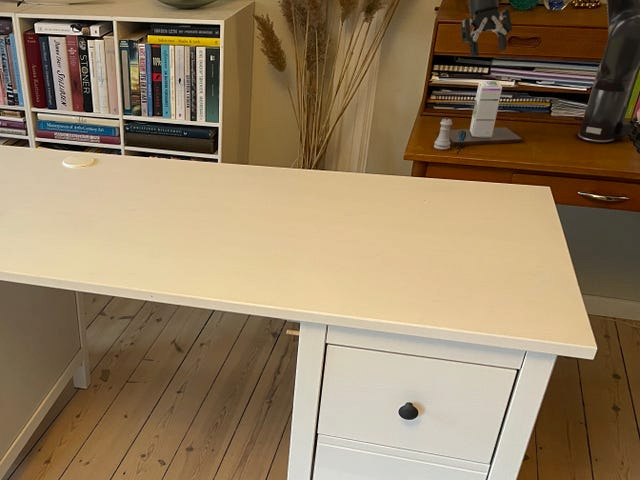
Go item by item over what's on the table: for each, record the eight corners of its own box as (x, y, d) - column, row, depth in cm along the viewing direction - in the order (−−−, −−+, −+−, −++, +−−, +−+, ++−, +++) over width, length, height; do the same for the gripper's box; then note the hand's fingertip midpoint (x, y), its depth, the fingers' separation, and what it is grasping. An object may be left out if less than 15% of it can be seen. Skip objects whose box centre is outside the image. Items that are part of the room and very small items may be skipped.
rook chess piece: (430, 147, 211) (435, 119, 207) (440, 144, 213) (445, 116, 209) (443, 151, 208) (448, 123, 204) (453, 148, 210) (458, 120, 206)
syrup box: (492, 137, 214) (504, 86, 205) (470, 137, 215) (481, 85, 206) (489, 131, 218) (500, 80, 210) (468, 130, 219) (478, 80, 211)
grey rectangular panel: (505, 130, 222) (505, 127, 221) (521, 142, 213) (522, 138, 212) (439, 133, 221) (440, 130, 221) (453, 145, 212) (454, 142, 212)
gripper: (467, -6, 204) (474, 55, 208) (513, -16, 206) (519, 45, 210) (452, 2, 212) (459, 60, 215) (496, -8, 213) (503, 50, 217)
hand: (489, 53), depth 213 cm, fingers open, 8 cm apart
